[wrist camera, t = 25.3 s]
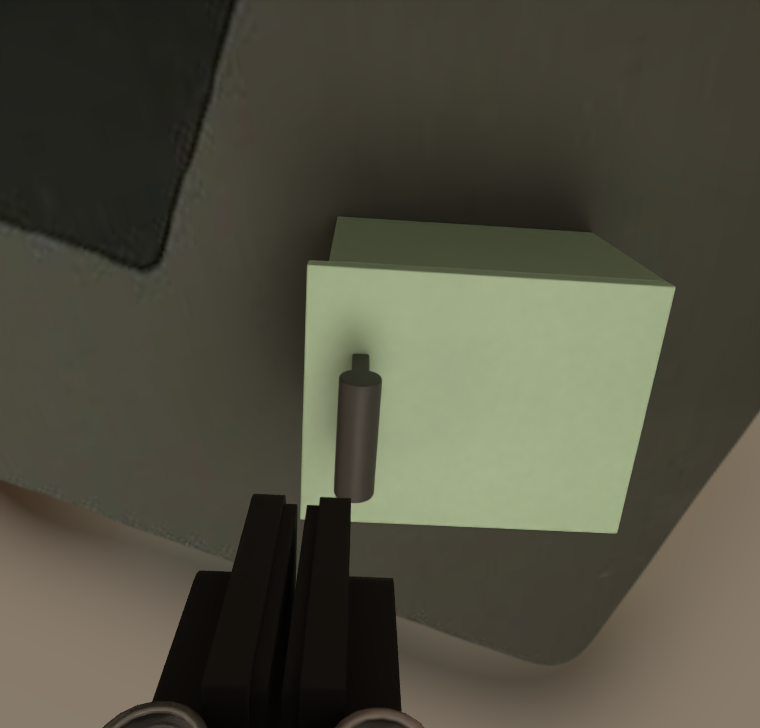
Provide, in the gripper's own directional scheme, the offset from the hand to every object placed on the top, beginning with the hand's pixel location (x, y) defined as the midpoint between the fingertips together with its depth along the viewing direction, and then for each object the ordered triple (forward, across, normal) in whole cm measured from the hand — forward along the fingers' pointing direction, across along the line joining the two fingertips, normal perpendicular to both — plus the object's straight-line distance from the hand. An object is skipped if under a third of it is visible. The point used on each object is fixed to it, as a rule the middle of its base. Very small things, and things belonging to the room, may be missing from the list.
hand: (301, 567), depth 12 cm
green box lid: (+17, -6, +5) cm, 19 cm away
